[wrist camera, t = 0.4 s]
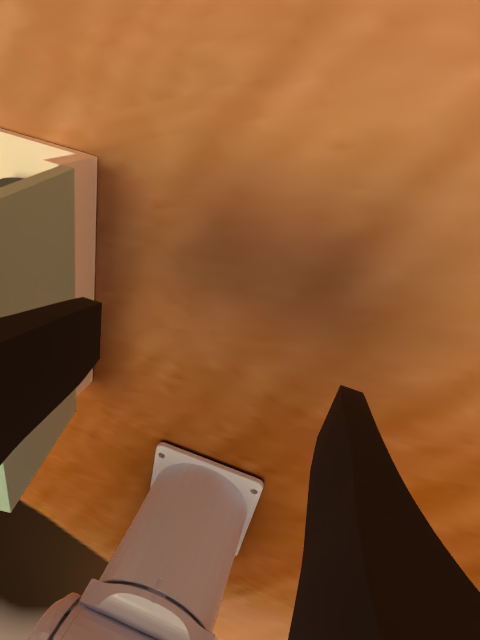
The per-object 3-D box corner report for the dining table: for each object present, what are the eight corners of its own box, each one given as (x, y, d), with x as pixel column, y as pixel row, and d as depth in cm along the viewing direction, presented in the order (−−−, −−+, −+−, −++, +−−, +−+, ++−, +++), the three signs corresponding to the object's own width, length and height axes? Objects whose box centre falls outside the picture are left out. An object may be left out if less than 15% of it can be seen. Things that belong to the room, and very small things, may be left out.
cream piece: (92, 380, 28) (65, 408, 25) (-2, 345, 29) (-38, 369, 26) (97, 156, 20) (58, 164, 18) (-32, 118, 21) (-87, 121, 19)
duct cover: (66, 409, 25) (75, 411, 25) (-2, 510, 19) (10, 512, 19) (60, 165, 18) (74, 168, 18) (-56, 208, 12) (-35, 212, 12)
